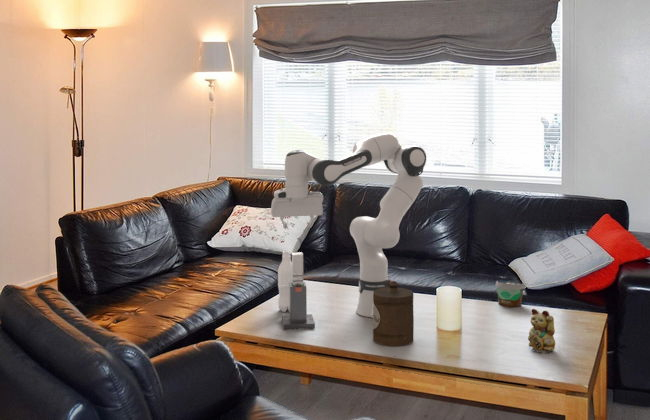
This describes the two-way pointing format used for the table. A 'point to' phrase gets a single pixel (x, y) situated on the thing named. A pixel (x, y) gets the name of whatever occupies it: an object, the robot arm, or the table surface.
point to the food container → (510, 294)
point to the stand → (297, 310)
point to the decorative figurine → (542, 332)
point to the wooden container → (393, 315)
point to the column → (297, 268)
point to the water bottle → (284, 281)
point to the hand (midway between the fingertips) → (297, 227)
